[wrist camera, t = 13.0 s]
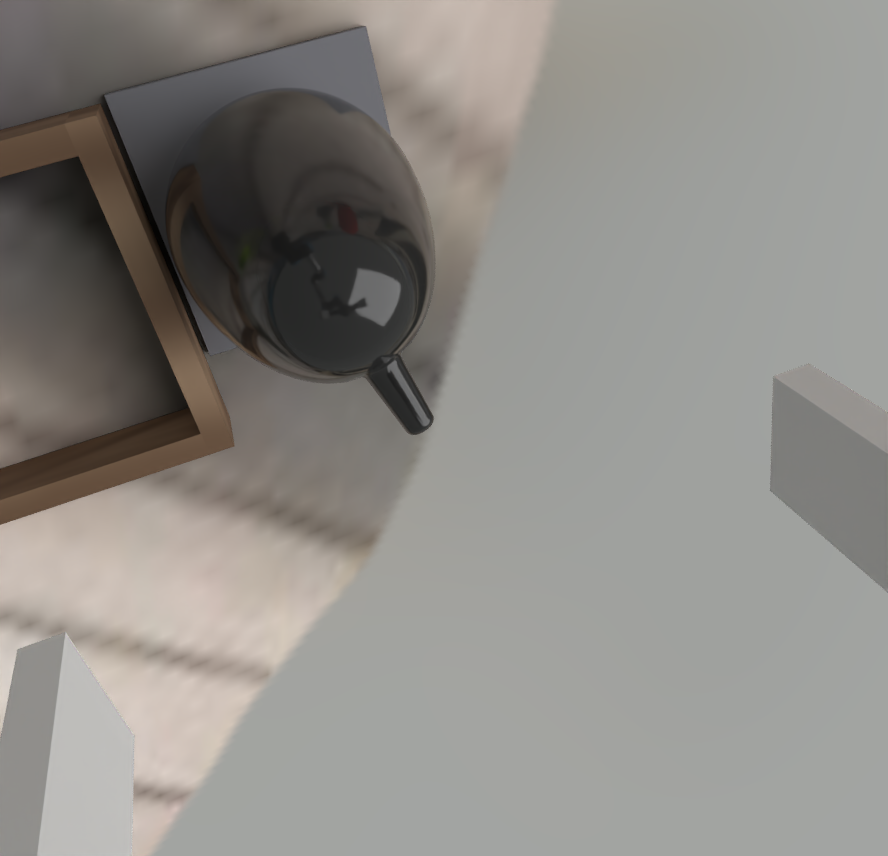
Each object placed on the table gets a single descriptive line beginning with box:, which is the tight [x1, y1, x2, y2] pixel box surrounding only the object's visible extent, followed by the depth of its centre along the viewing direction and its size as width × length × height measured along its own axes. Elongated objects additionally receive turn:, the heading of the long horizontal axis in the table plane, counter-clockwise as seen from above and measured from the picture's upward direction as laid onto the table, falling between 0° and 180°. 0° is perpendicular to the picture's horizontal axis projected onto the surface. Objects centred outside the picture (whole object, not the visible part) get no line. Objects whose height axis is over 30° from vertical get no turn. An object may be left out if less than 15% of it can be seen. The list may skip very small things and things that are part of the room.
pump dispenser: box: [165, 88, 436, 435], centre depth 30 cm, size 10×10×15 cm
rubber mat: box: [104, 26, 391, 356], centre depth 37 cm, size 12×11×1 cm
